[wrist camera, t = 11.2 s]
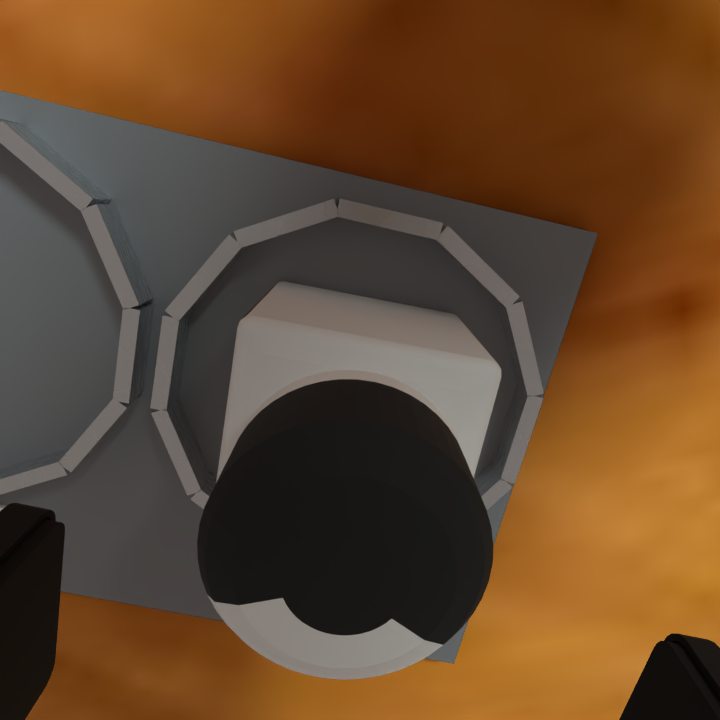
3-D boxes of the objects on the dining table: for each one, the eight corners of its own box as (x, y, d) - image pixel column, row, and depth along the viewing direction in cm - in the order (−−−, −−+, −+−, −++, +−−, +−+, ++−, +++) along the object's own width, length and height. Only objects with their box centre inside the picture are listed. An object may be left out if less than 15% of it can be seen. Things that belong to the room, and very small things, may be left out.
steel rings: (-245, 60, 19) (-294, 48, 18) (574, 253, 21) (590, 257, 19) (-222, 438, 23) (-261, 454, 21) (470, 572, 25) (477, 595, 23)
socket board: (-235, 35, 20) (-272, 25, 19) (587, 231, 22) (600, 233, 20) (-208, 525, 25) (-235, 541, 24) (450, 647, 27) (454, 667, 26)
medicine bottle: (275, 278, 21) (177, 372, 10) (460, 313, 21) (579, 445, 10) (249, 449, 23) (141, 699, 11) (419, 478, 23) (480, 750, 12)
